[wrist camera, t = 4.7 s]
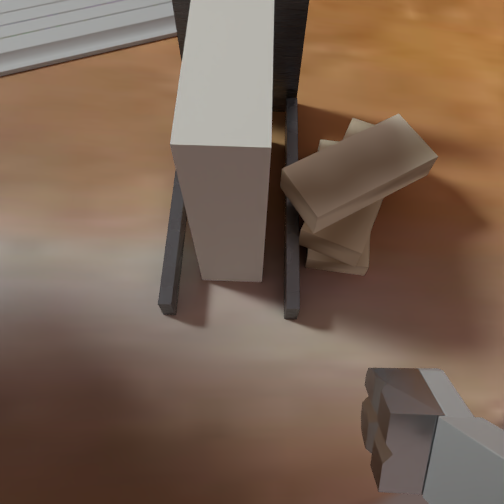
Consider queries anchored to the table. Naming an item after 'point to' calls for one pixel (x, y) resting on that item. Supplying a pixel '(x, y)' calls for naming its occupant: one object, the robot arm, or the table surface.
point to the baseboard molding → (76, 29)
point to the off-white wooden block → (226, 134)
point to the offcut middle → (344, 225)
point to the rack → (285, 99)
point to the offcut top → (356, 172)
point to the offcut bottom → (331, 264)
